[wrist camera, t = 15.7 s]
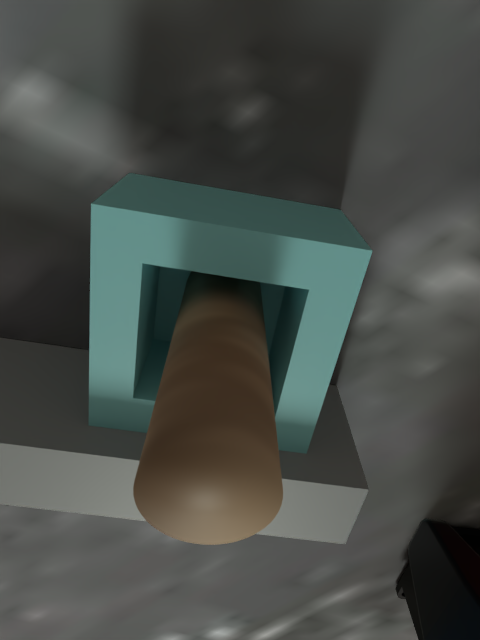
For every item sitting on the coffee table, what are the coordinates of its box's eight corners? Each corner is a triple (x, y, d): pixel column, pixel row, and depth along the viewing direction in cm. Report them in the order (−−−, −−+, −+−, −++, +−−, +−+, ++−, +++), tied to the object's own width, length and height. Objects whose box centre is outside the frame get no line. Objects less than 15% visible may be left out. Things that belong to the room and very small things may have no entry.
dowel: (267, 262, 17) (298, 450, 8) (253, 329, 19) (267, 551, 10) (190, 250, 17) (137, 430, 8) (182, 318, 18) (129, 536, 9)
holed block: (339, 207, 17) (372, 250, 13) (292, 375, 21) (306, 453, 16) (131, 171, 17) (90, 203, 12) (121, 351, 20) (88, 425, 16)
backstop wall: (336, 385, 21) (368, 489, 15) (320, 433, 22) (345, 544, 17) (-63, 328, 19) (-178, 420, 14) (-53, 383, 21) (-154, 486, 15)
